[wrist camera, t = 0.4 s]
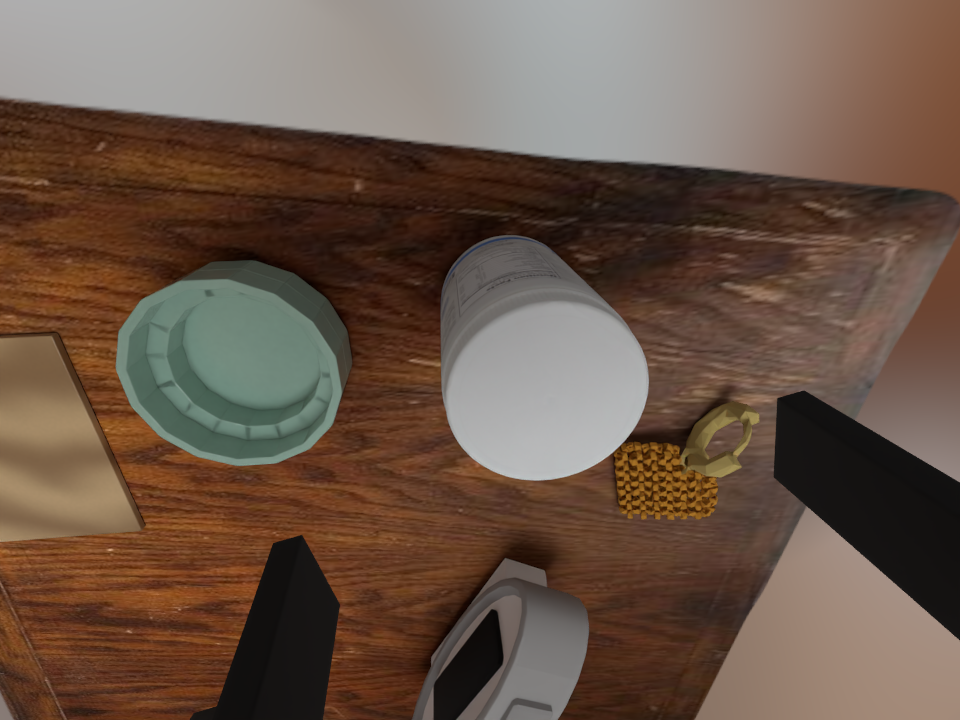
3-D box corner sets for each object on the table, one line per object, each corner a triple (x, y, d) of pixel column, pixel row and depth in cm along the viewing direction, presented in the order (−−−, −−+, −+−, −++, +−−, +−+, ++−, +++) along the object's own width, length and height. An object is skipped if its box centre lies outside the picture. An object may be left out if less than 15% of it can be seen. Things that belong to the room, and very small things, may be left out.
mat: (-133, 341, 31) (-143, 345, 31) (58, 332, 32) (51, 335, 31) (-4, 537, 39) (-11, 542, 39) (145, 525, 40) (141, 531, 39)
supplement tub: (585, 329, 35) (674, 445, 22) (470, 375, 36) (492, 513, 23) (545, 207, 31) (626, 262, 18) (416, 263, 32) (404, 354, 19)
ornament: (669, 572, 41) (826, 481, 33) (575, 509, 40) (715, 399, 32) (660, 514, 47) (792, 424, 39) (577, 457, 45) (697, 353, 38)
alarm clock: (514, 532, 44) (541, 672, 33) (567, 550, 46) (611, 689, 35) (411, 672, 52) (404, 823, 41) (460, 683, 54) (467, 831, 43)
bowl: (132, 262, 30) (80, 284, 26) (337, 254, 31) (321, 274, 27) (191, 429, 36) (157, 471, 32) (362, 419, 37) (353, 458, 33)
